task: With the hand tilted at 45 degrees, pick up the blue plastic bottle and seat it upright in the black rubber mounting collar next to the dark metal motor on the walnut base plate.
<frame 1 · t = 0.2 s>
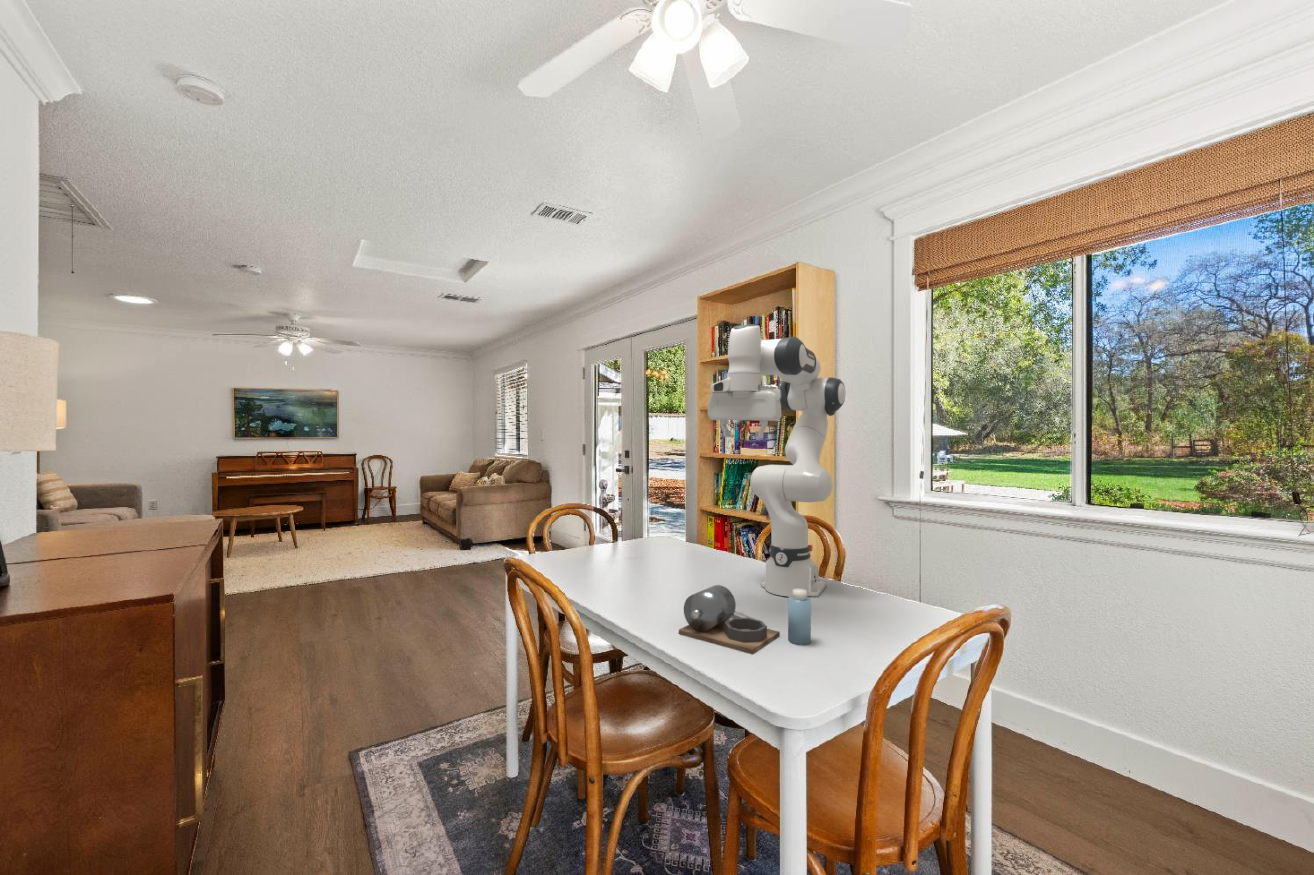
hand: (743, 437, 147), 48 cm above the table, tool pointing down, fingers open, 8 cm apart
collar: (745, 639, 132), resting on base plate
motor: (709, 629, 138), resting on base plate
base plate: (729, 634, 135), on the table
adjustable wrench: (724, 615, 150), on the table
blue plastic bottle: (799, 640, 131), on the table
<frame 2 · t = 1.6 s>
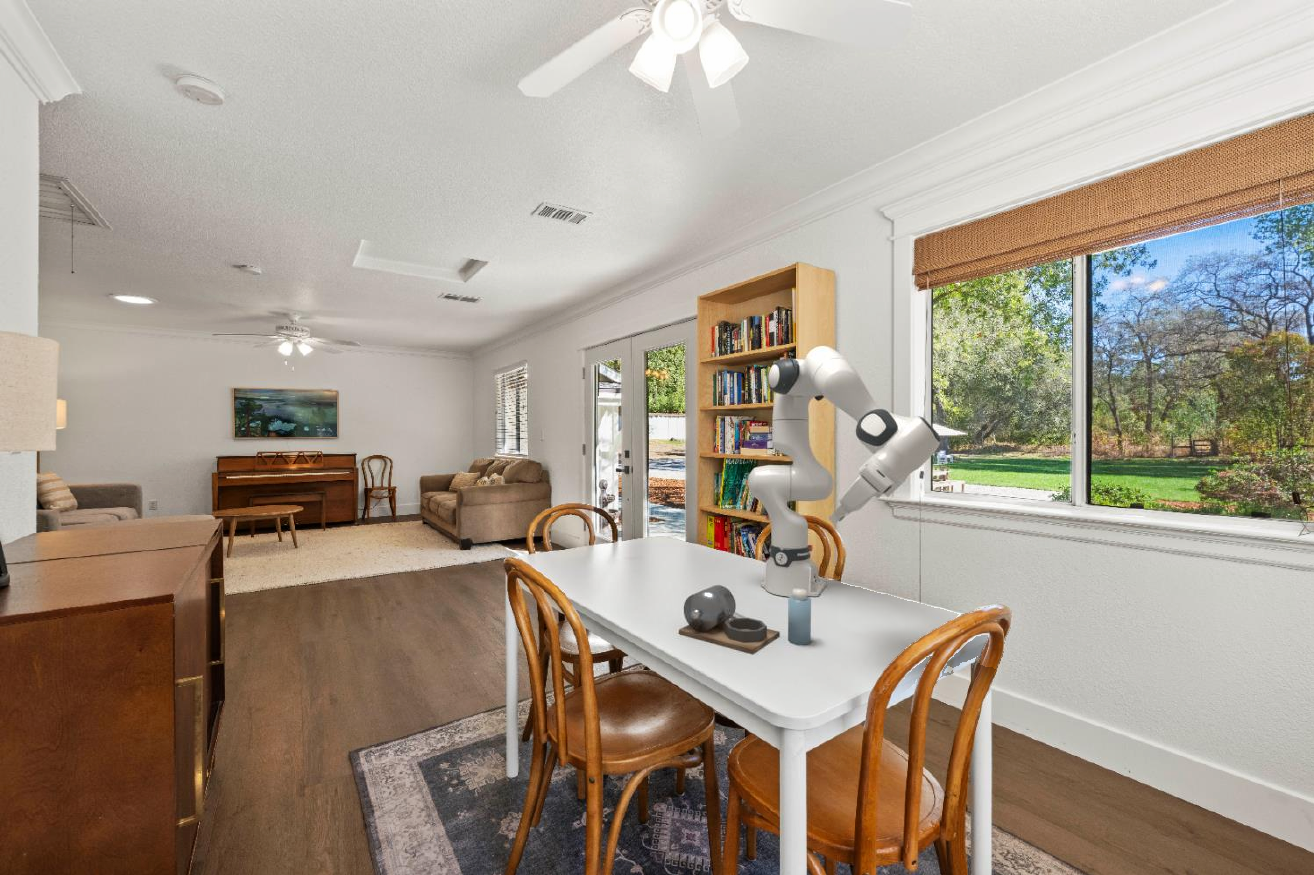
hand: (834, 520, 129), 29 cm above the table, tool tilted 45°, fingers open, 8 cm apart
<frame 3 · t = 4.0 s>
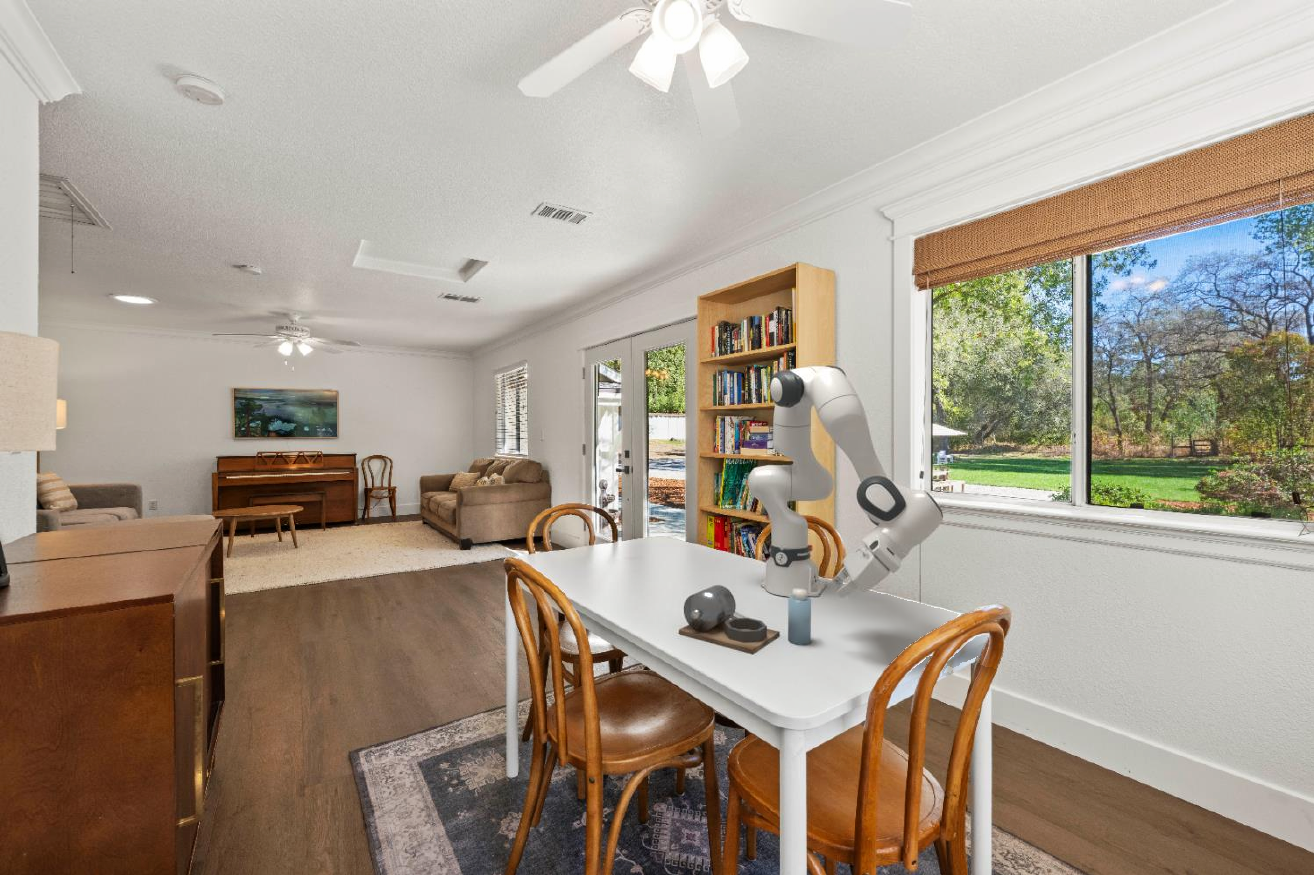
hand: (836, 589, 129), 13 cm above the table, tool tilted 45°, fingers open, 8 cm apart
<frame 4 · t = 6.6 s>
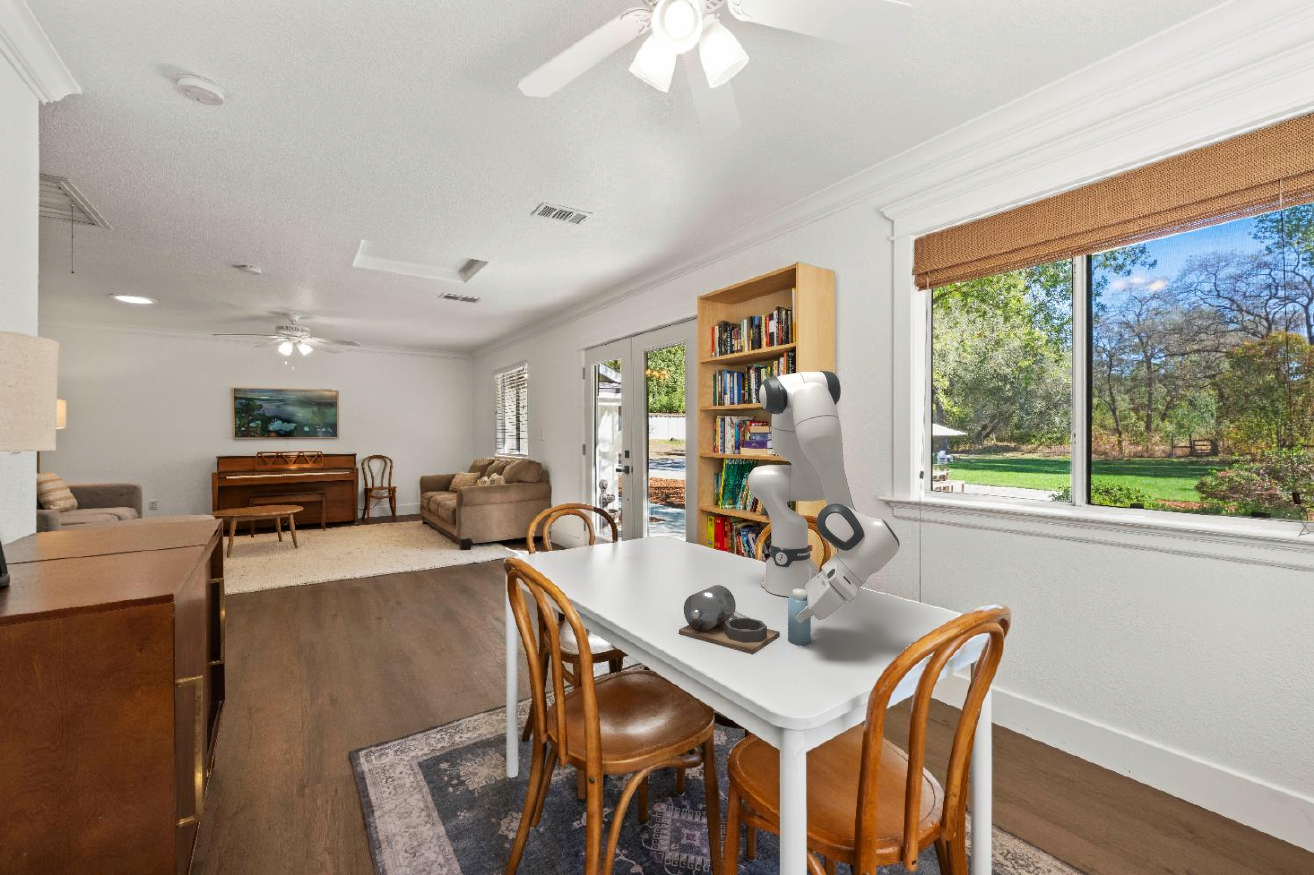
hand: (796, 615, 131), 6 cm above the table, tool tilted 45°, fingers closed on blue plastic bottle, 5 cm apart
blue plastic bottle: (799, 640, 131), on the table, touching gripper
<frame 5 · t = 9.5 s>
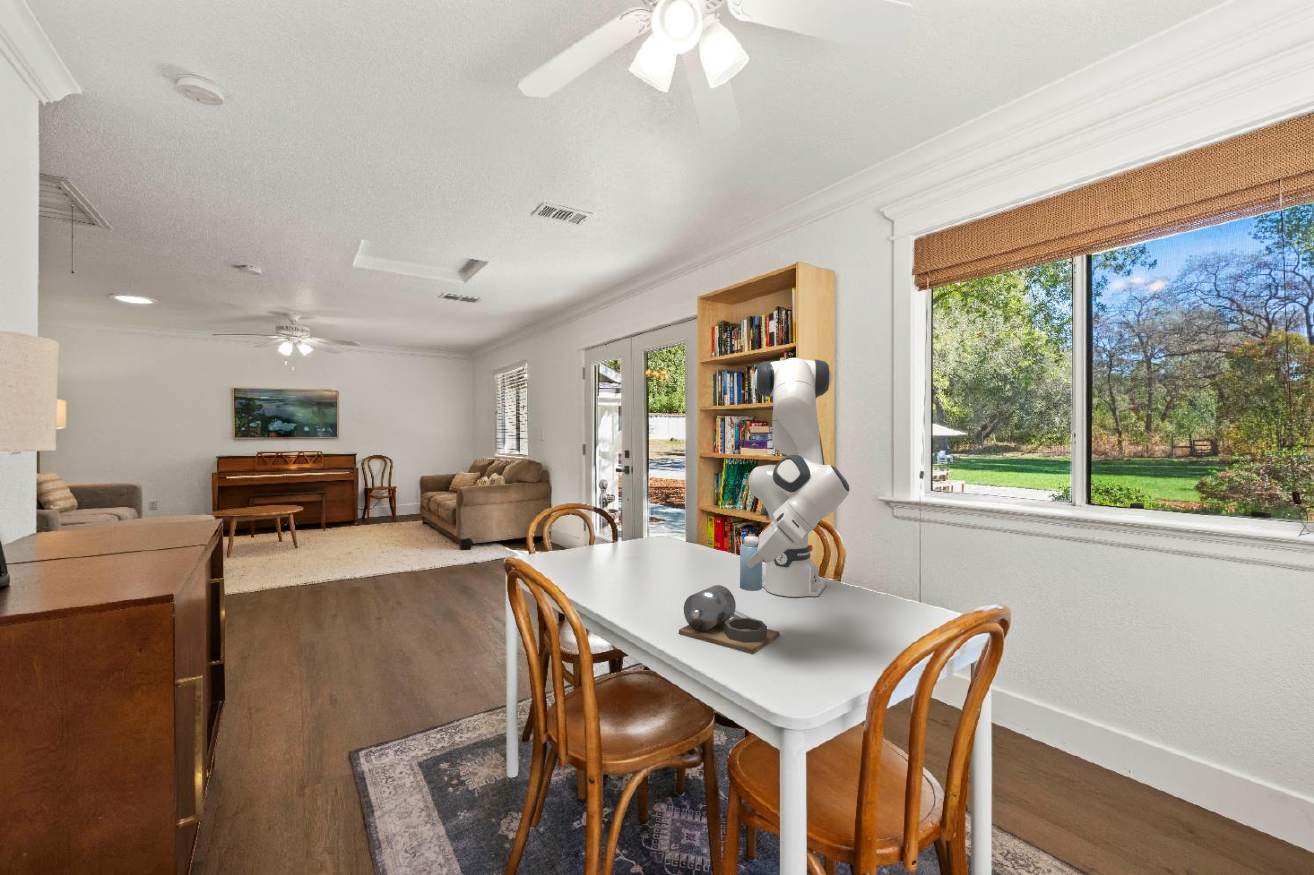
hand: (748, 562, 132), 18 cm above the table, tool tilted 45°, fingers closed on blue plastic bottle, 5 cm apart
blue plastic bottle: (751, 587, 132), point 12 cm above the table, touching gripper
when the fingers open (8 cm above the table, at t = 12.5 s): blue plastic bottle drops 1 cm, resting on base plate.
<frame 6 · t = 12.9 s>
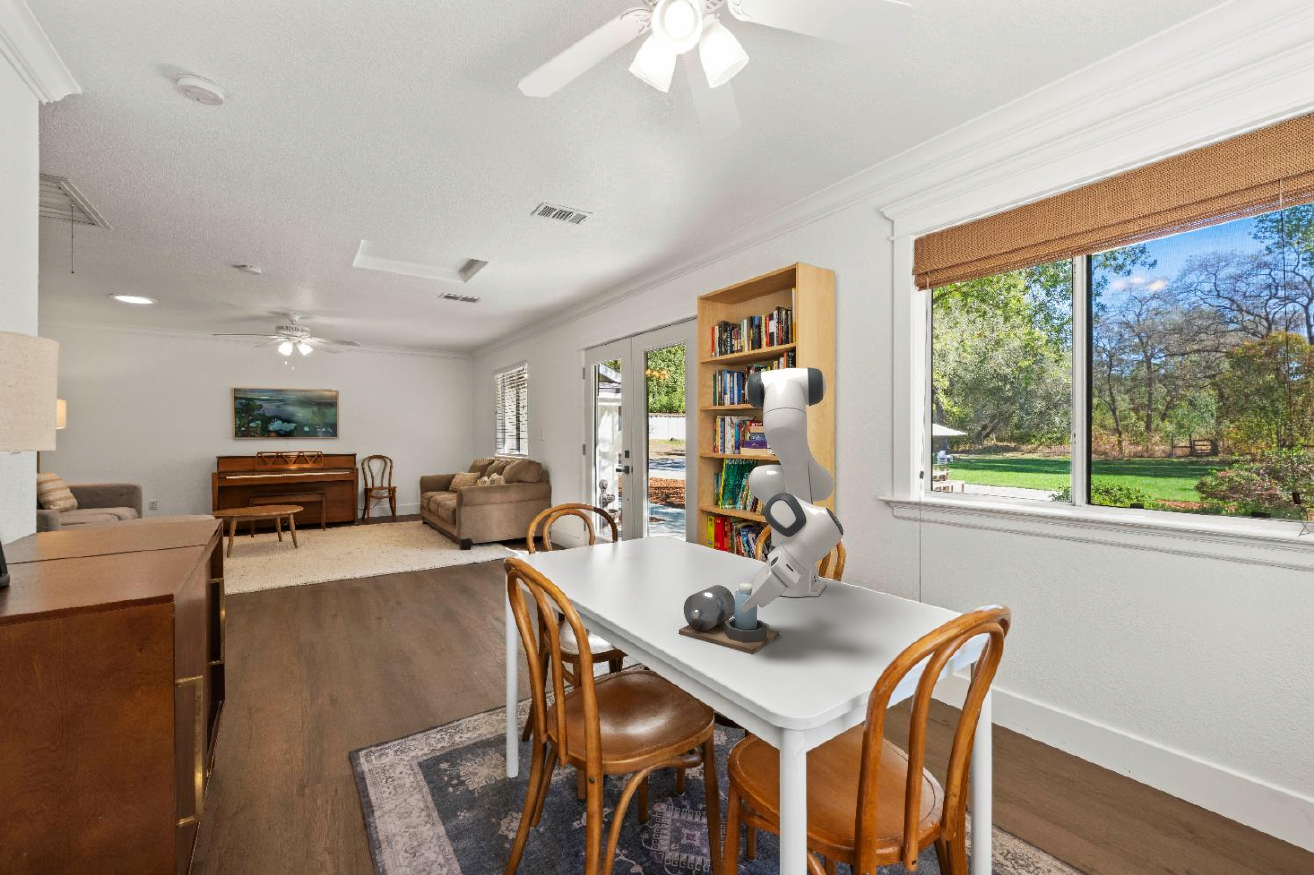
hand: (743, 603, 132), 8 cm above the table, tool tilted 45°, fingers open, 8 cm apart
blue plastic bottle: (745, 634, 132), point 1 cm above the table, touching base plate
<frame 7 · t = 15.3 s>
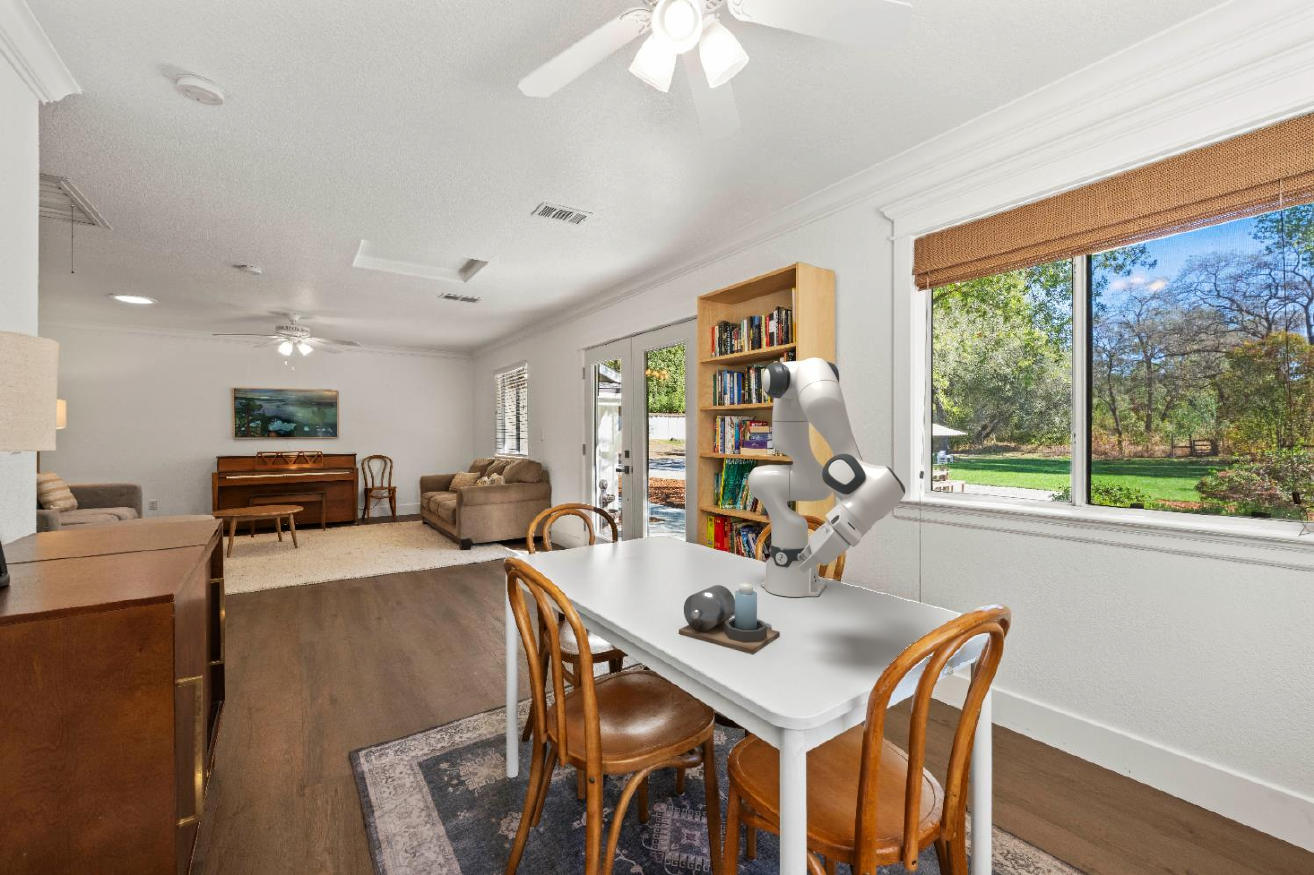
hand: (799, 565, 129), 18 cm above the table, tool tilted 45°, fingers open, 8 cm apart
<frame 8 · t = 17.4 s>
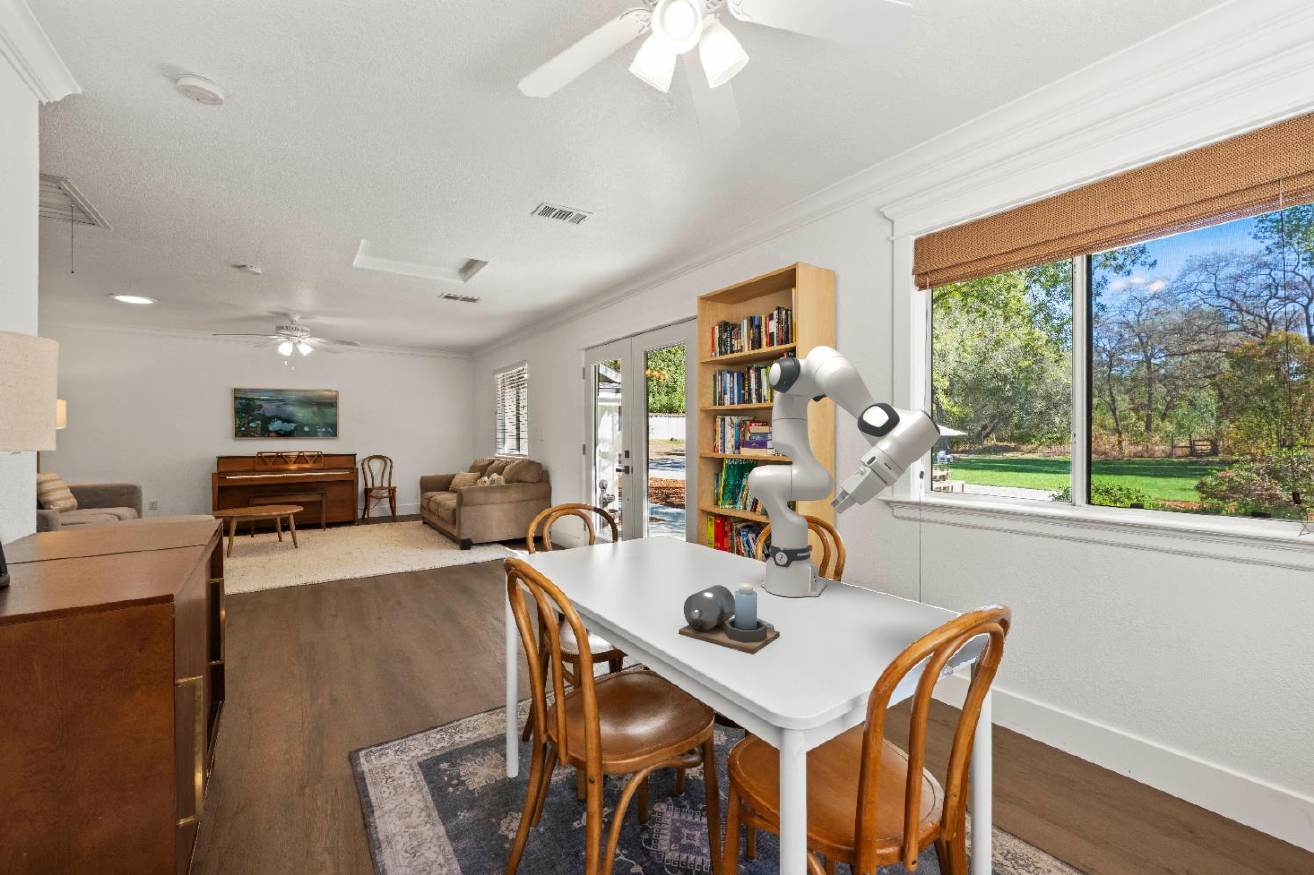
hand: (834, 508, 131), 31 cm above the table, tool tilted 45°, fingers open, 8 cm apart
at the end: blue plastic bottle 0.1 cm off-centre on the collar, point 1.0 cm above the collar's base; blue plastic bottle tilted 0°; the gripper is holding nothing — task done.
